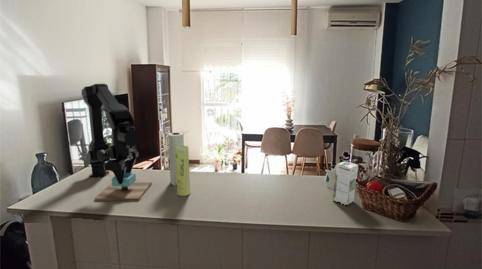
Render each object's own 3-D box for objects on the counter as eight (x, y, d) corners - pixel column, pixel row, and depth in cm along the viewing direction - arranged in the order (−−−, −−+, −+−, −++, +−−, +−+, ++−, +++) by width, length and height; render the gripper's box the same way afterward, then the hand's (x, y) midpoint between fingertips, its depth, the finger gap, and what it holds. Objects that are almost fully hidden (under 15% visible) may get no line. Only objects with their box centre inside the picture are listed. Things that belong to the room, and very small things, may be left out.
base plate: (113, 184, 123) (113, 181, 123) (151, 184, 123) (151, 182, 123) (94, 200, 107) (94, 198, 107) (138, 201, 107) (138, 198, 107)
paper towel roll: (178, 178, 129) (176, 131, 125) (188, 182, 126) (186, 133, 121) (165, 183, 124) (162, 134, 119) (175, 187, 120) (173, 136, 116)
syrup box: (339, 197, 112) (343, 160, 109) (354, 202, 108) (358, 164, 105) (332, 201, 108) (335, 163, 105) (347, 206, 104) (351, 167, 101)
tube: (174, 196, 111) (172, 146, 107) (176, 191, 116) (174, 143, 112) (189, 196, 112) (188, 146, 107) (191, 191, 116) (189, 143, 112)
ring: (119, 179, 117) (118, 172, 117) (135, 180, 117) (135, 172, 117) (112, 186, 111) (111, 178, 110) (129, 186, 111) (129, 178, 110)
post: (123, 188, 116) (122, 176, 115) (129, 188, 116) (128, 176, 115) (120, 190, 114) (119, 178, 113) (126, 190, 114) (125, 178, 113)
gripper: (110, 135, 120) (113, 172, 123) (86, 147, 102) (91, 190, 105) (137, 136, 120) (140, 172, 123) (119, 147, 102) (122, 190, 105)
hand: (124, 180), depth 114 cm, fingers closed on ring, 7 cm apart
